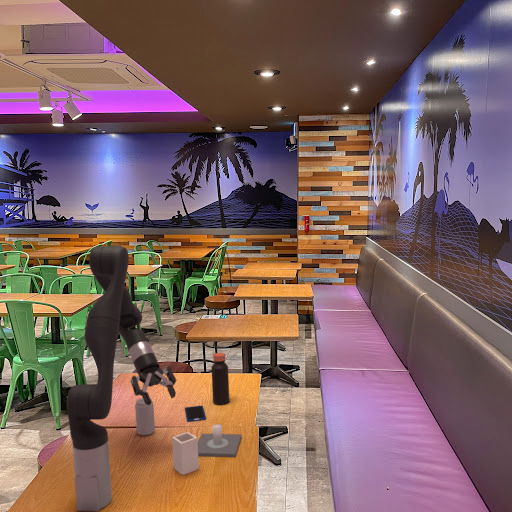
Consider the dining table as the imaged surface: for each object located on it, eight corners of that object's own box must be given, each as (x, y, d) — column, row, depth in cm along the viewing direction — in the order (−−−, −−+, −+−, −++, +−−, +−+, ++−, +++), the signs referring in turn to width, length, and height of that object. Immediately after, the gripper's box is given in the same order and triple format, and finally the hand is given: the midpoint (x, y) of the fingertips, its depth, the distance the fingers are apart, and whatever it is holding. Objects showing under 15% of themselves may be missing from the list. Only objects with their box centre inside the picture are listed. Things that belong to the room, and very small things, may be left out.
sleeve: (198, 469, 159) (197, 437, 158) (182, 475, 155) (181, 443, 154) (189, 462, 163) (187, 431, 162) (173, 468, 160) (172, 437, 159)
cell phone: (187, 423, 193) (187, 421, 193) (184, 409, 207) (184, 407, 206) (206, 420, 194) (206, 418, 194) (202, 406, 208) (202, 405, 208)
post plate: (235, 456, 165) (234, 436, 165) (192, 455, 167) (191, 435, 166) (241, 437, 179) (240, 417, 178) (202, 436, 181) (201, 417, 180)
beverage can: (150, 437, 182) (148, 404, 180) (133, 436, 183) (131, 403, 182) (157, 429, 188) (156, 397, 187) (141, 428, 189) (139, 396, 188)
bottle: (214, 406, 207) (212, 357, 205) (211, 400, 214) (209, 353, 212) (231, 404, 209) (229, 355, 207) (227, 398, 215) (225, 351, 213)
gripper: (126, 357, 167) (145, 401, 160) (165, 347, 176) (184, 389, 169) (121, 368, 172) (138, 412, 165) (159, 359, 181) (177, 400, 173)
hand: (161, 400), depth 167 cm, fingers open, 8 cm apart
